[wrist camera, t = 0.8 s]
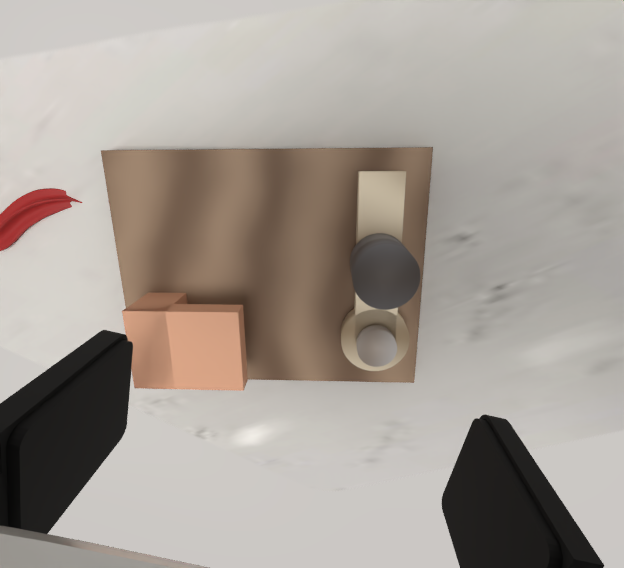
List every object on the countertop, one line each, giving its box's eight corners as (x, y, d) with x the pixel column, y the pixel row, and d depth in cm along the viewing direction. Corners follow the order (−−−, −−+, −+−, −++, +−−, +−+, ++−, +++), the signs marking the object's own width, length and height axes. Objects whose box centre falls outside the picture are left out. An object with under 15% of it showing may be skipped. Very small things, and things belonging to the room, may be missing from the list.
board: (427, 148, 28) (445, 145, 23) (410, 373, 33) (422, 405, 29) (112, 151, 29) (72, 149, 25) (145, 368, 34) (117, 398, 30)
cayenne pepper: (-39, 253, 32) (-62, 258, 31) (-59, 196, 31) (-83, 198, 29) (99, 244, 32) (85, 249, 30) (86, 185, 30) (69, 187, 28)
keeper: (250, 293, 30) (238, 312, 26) (253, 363, 32) (243, 390, 28) (148, 292, 30) (122, 311, 27) (158, 361, 32) (134, 388, 28)
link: (403, 362, 31) (418, 402, 26) (340, 360, 31) (341, 401, 26) (417, 170, 27) (437, 172, 21) (343, 171, 27) (345, 173, 22)
